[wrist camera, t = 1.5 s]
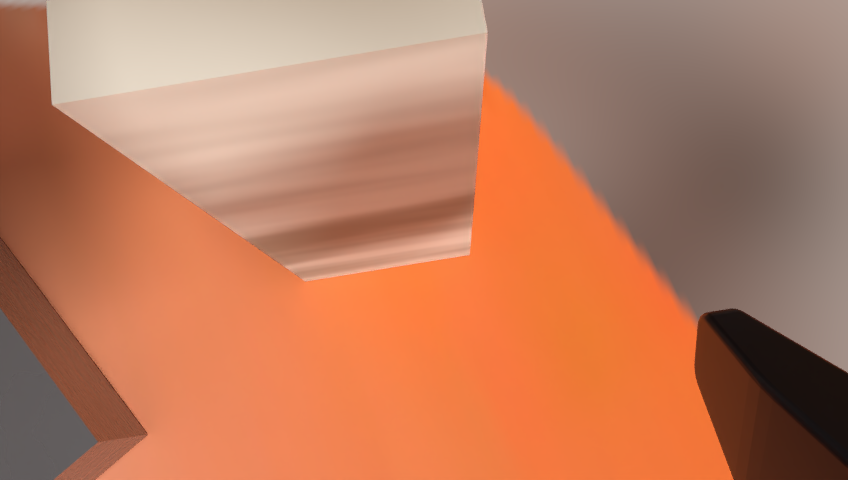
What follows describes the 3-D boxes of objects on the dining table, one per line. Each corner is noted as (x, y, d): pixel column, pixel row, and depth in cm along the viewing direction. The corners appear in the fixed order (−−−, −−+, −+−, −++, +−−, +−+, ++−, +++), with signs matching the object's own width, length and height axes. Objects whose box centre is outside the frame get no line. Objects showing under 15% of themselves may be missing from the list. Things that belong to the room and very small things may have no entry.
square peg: (469, 255, 22) (487, 32, 8) (305, 281, 22) (51, 104, 8) (443, 99, 23) (420, -328, 9) (285, 125, 23) (31, -260, 9)
